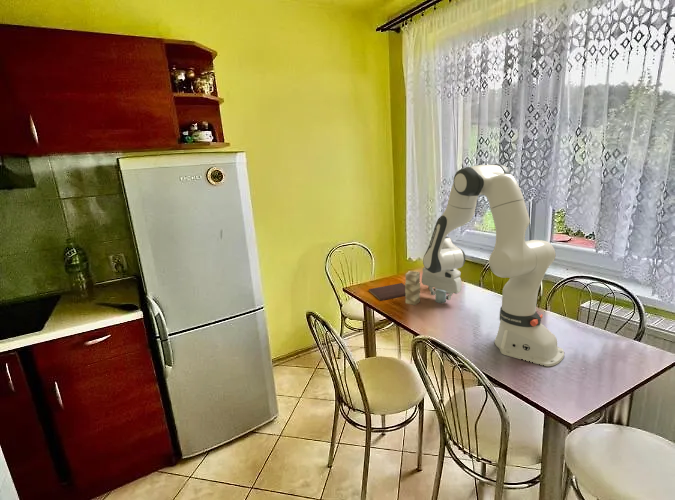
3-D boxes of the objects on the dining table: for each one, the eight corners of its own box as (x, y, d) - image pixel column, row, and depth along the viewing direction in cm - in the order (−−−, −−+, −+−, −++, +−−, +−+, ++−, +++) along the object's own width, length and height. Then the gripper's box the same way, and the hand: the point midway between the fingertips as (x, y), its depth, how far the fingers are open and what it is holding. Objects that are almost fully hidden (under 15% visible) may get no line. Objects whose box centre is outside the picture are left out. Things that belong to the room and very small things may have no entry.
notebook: (368, 291, 196) (368, 288, 196) (401, 285, 202) (401, 282, 202) (380, 301, 182) (380, 298, 182) (415, 294, 188) (415, 291, 188)
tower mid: (420, 292, 177) (420, 283, 175) (413, 295, 174) (413, 285, 173) (412, 290, 181) (412, 280, 179) (405, 292, 178) (405, 283, 177)
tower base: (419, 301, 179) (419, 292, 178) (414, 305, 175) (414, 295, 174) (410, 299, 182) (410, 290, 181) (405, 303, 178) (405, 293, 177)
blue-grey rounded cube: (448, 301, 178) (448, 291, 177) (442, 304, 175) (442, 294, 173) (439, 298, 182) (439, 288, 180) (433, 301, 178) (433, 291, 177)
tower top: (419, 282, 177) (419, 272, 175) (415, 285, 173) (415, 275, 171) (409, 280, 179) (409, 270, 178) (405, 283, 175) (405, 274, 174)
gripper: (418, 267, 180) (418, 293, 183) (456, 276, 165) (455, 304, 168) (426, 264, 184) (426, 289, 187) (464, 272, 169) (462, 300, 172)
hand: (440, 297), depth 178 cm, fingers open, 7 cm apart
